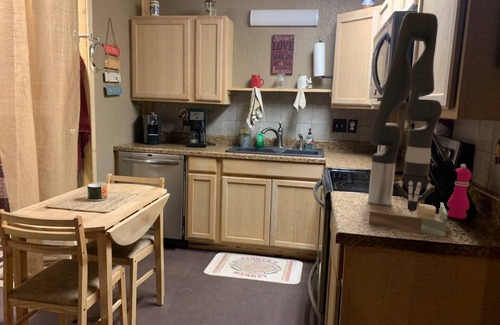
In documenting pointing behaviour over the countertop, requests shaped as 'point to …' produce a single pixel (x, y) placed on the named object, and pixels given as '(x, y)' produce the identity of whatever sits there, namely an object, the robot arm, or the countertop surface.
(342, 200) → the countertop surface
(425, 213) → the maple block
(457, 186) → the pepper mill
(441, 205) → the box
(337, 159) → the countertop surface
